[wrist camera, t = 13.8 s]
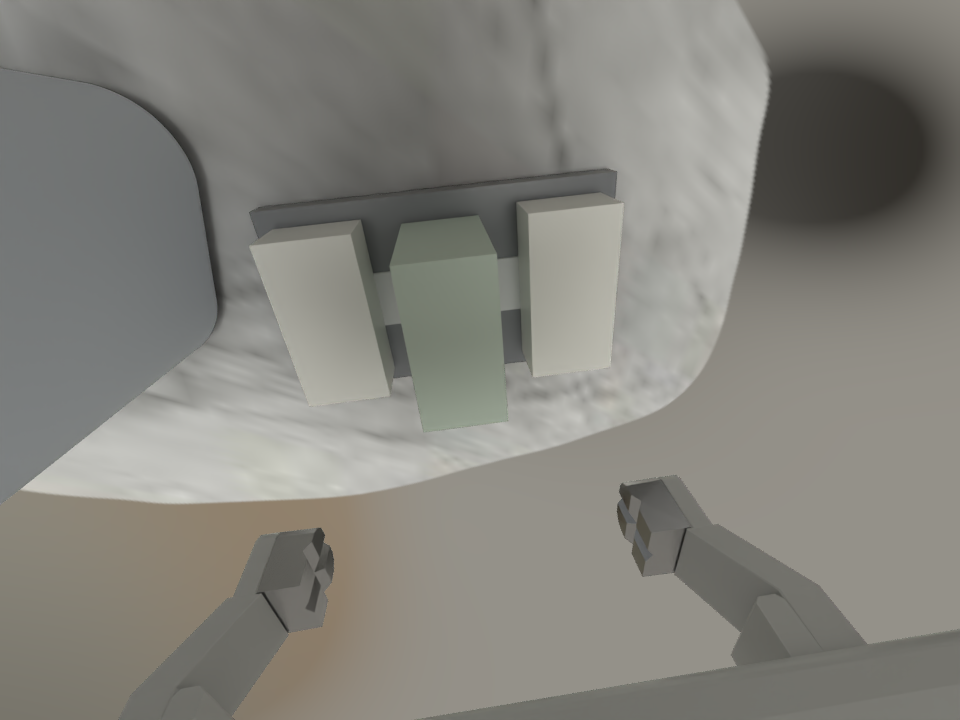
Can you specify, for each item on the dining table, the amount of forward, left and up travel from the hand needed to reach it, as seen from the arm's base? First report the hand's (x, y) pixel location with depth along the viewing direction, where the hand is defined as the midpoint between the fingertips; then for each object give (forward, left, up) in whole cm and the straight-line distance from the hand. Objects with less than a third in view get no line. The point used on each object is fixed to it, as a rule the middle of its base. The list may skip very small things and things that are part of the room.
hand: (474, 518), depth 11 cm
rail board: (0, 0, -19) cm, 19 cm away
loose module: (0, 0, -18) cm, 18 cm away
